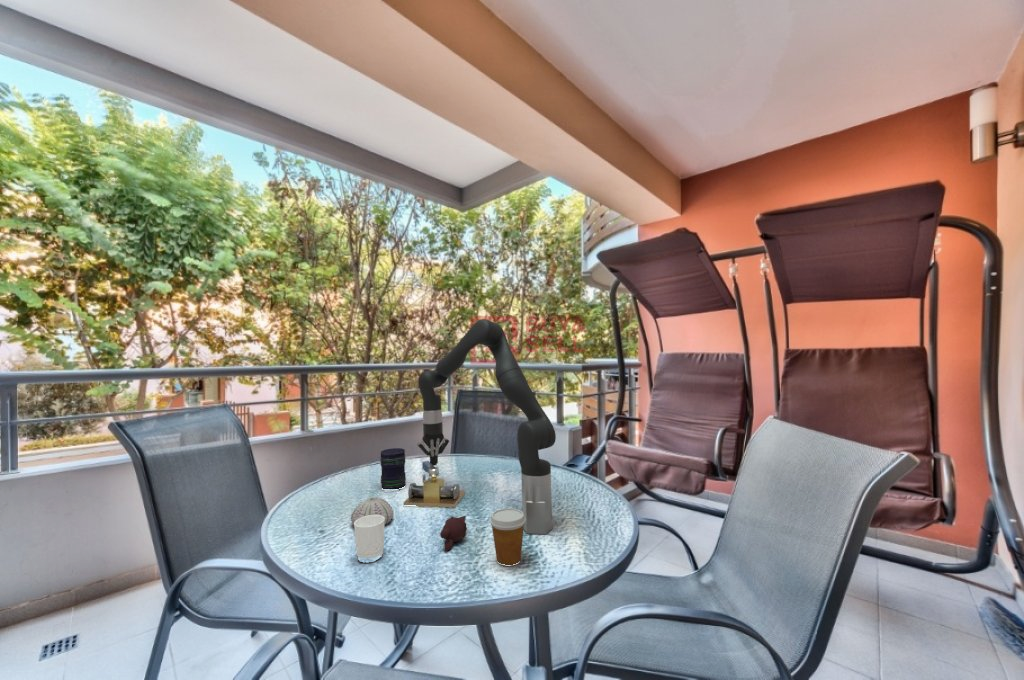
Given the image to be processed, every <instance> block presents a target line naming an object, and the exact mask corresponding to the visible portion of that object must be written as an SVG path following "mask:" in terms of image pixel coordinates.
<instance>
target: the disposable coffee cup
mask: <svg viewBox="0 0 1024 680" xmlns="http://www.w3.org/2000/svg"><path fill="white" fill-rule="evenodd" d="M525 521H526V518H525V517H524V514H523V512H522V510H520V509H517V508H510V507H509V508H500V509H496V510H495V511H493V512H492V513H491V516H490V518H489V522H490V525H491V528H492V529H491V530H492V537H493V542H494V543H493V544H494V550H495V557H496V562H497V561H498V562H499V563H501V564H505V565H513V564H516V563H518V562H519V561H520V560H521V559H522V551H523V550H522V547H523V538H524V524H525ZM521 561H522V560H521ZM521 561H520V562H521Z"/></svg>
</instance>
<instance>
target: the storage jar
mask: <svg viewBox="0 0 1024 680" xmlns="http://www.w3.org/2000/svg"><path fill="white" fill-rule="evenodd" d="M379 461H380V466H381V468H380V470H381V475H380V486H381V487H382V488H383V489H399V488H402V487H404V486H405V485H406V480H407V476H406V472H405V471H406V469H405V468H406V466H405V465H406V450H405V448H397V447H394V448H388V449H384V450H381V451H380V460H379Z"/></svg>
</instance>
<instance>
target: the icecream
mask: <svg viewBox="0 0 1024 680" xmlns="http://www.w3.org/2000/svg"><path fill="white" fill-rule="evenodd" d="M466 534H467V522H466V515H463V516H459V517H454V516H451V517H449V518H448V519H446V520H445V522H444V525H443V527H442V529H441V530H440V533H439V535H440V538H441V539H444V540H446V541H445V544H444V551H445V550H449V551H450V550H451V549H452V546H453V544H454V543H456V542H459V541H460V540H462V539H463V538H464V537H466Z"/></svg>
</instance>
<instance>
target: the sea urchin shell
mask: <svg viewBox="0 0 1024 680" xmlns="http://www.w3.org/2000/svg"><path fill="white" fill-rule="evenodd" d="M394 514H395V511H394V509H393V506H391V504H390V503H389V501H387V500H385V499H384V498H382V497H380V496H379V497H378V496H377V497H368V498H366V499H365V500H363V501H361V502H360V503H358V505H357V506H355V508H354V509H353V511H352V512H351V514H350V521H351V523H352V524H353V525H354V522H355V521H356V520H357V519H359V518H361V517H364V516H368V515H381V516H383V517H384V518H385V525H387V524H389V523H390V522H392V520H393V518H394ZM391 519H392V520H391ZM388 522H389V523H388ZM386 523H387V524H386Z"/></svg>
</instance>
